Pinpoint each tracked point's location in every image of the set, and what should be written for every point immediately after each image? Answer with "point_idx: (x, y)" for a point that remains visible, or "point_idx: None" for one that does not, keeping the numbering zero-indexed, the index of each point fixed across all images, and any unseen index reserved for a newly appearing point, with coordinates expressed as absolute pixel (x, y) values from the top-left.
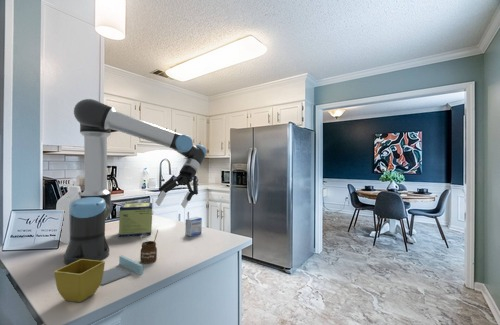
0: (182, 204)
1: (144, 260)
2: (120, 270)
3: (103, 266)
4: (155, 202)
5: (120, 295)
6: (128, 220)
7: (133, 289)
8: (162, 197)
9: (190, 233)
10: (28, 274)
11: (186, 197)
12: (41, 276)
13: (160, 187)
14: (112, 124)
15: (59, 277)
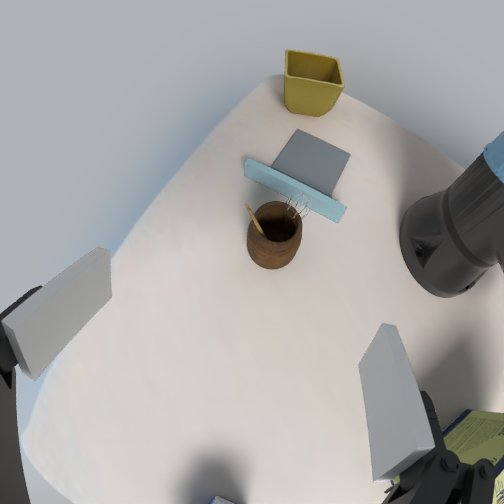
0: (98, 248)
1: (272, 221)
2: (306, 178)
3: (284, 79)
4: (393, 329)
5: (241, 111)
6: (486, 435)
7: (228, 125)
8: (380, 411)
9: (217, 501)
10: (452, 169)
11: (46, 289)
12: (429, 162)
13: (486, 483)
14: None
15: (325, 62)
